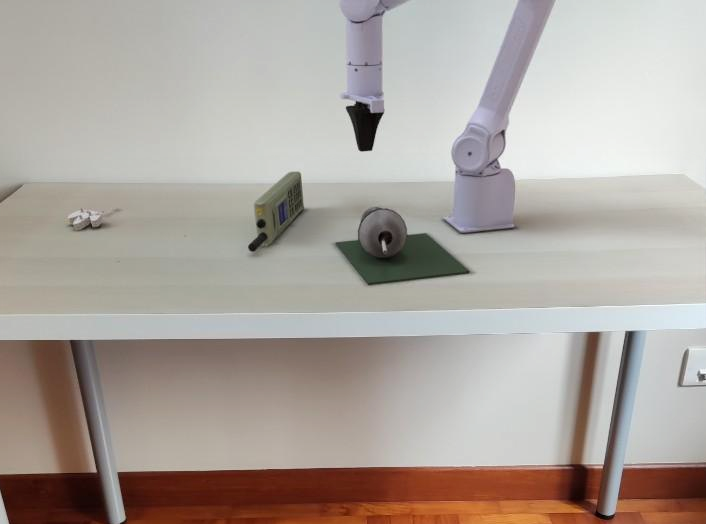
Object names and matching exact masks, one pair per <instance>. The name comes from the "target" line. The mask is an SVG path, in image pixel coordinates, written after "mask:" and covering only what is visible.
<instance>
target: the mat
mask: <svg viewBox="0 0 706 524" xmlns="http://www.w3.org/2000/svg"><path fill="white" fill-rule="evenodd" d="M335 245H336V246H337V248H338V249H339V250H340V252H341V253H342V254H343V255H344V256H345V257H346V259H347V260H348V261H349V262H350V264H351V265H352V266H353V267H354V268H355V270H356V271H357V273H358V274H359V275H360V276H361V277H362V279H363V280H364V281H365V282H366V284H367V285H369V286H370V285H377V284H387V283H395V282H403V281H412V280H413V281H414V280H421V279H429V278H439V277H447V276H455V275H464V274H470V270H469V269H468V268H467V267H466V266H464V264H462V263H461V262H460V261H459V260H458V259H456V258H455V257H454V256H453V255H452V254H451V253H449V252H448V250H446V249H445V248H444V247H443V246H442V245H441V244H440V243H438V242H437V241H436V240H435V239H433V238H432V237H431V236H430V235H429V234H428V233H427V232H424V233H423V232H422V233H413V234H407V238H406V241H405V244H404V246H403V247H402V249H401V250H400V251H399V252H398V253H396V254H395V255H393V256H391V257H388V258H377V257H374V256H371V255H370V254H368V253H367V252H365V250H364V249H363V248H362V247H361V245H360V242H359V239H356V240H346V241H337V242H335Z"/></svg>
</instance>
